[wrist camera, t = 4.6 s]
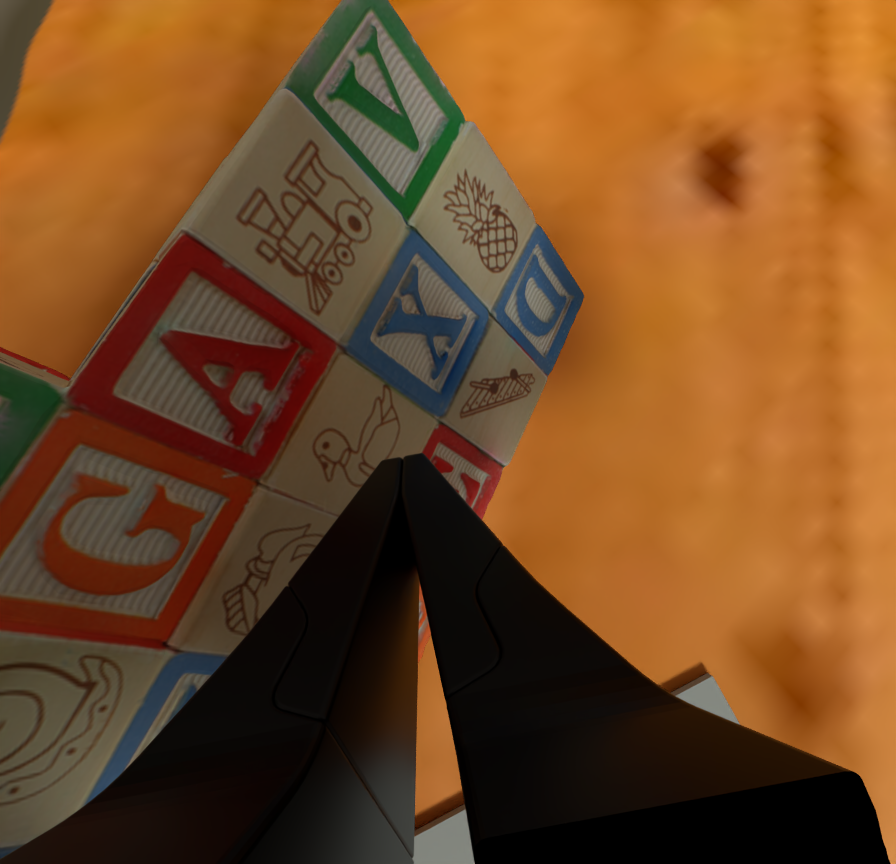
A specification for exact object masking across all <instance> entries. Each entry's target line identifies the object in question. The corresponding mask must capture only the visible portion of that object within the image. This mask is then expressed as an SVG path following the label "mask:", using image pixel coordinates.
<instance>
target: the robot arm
mask: <svg viewBox="0 0 896 864" xmlns="http://www.w3.org/2000/svg"><path fill="white" fill-rule="evenodd" d="M288 585H289V586H285V587H284V588H283V590H282V591H281V592H280V594H279V595H278V596H277V598H276V599H275V600H274V602H273V603H272V604H271V605H270V607H269V608H268V609H267V610H266V612H265V613H264V614H263V615H262V617H261V618H260V619H259V620H258V622H257V623H256V624H255V625H254V627H253V628H252V629H251V630H250V632H249V633H248V634H247V635H246V636H245V637H244V639H243V640H242V641H241V642H240V643H239V644H238V646H237V647H236V648H235V649H234V650H233V651H232V652H231V654H230V655H229V656H228V657H227V658H226V659H225V660H224V662H223V663H222V664H221V665H220V666H219V667H218V668H217V670H216V671H215V672H214V673H213V674H212V675H211V676H210V677H209V678H208V679H207V681H206V682H205V683H204V684H203V685H202V686H201V687H200V688H199V689H198V691H197V692H196V693H195V694H194V695H193V696H192V697H191V698H190V699H189V700H188V702H187V703H186V704H185V705H184V706H183V707H182V708H181V709H180V710H179V712H178V713H177V714H176V715H175V716H174V717H173V718H172V719H171V720H170V721H169V723H168V724H167V725H166V726H165V727H164V728H163V729H162V730H161V731H160V733H159V734H158V735H157V736H156V737H155V738H154V739H153V740H152V741H151V743H150V744H149V745H148V746H147V747H146V748H145V749H144V750H143V751H142V752H141V754H140V755H139V756H138V757H137V758H136V759H135V760H134V761H133V762H132V763H131V764H130V765H129V766H128V767H127V768H126V769H125V770H124V771H123V772H122V773H121V774H120V775H119V776H118V777H117V778H116V779H115V780H114V781H113V782H112V783H111V784H110V785H109V786H107V787H106V788H105V789H104V790H103V791H102V792H101V793H99V794H98V795H97V796H96V797H95V798H93V799H92V800H91V801H90V802H88V803H87V804H86V805H85V806H83V807H82V808H81V809H79V810H78V811H76V812H75V813H73V814H72V815H71V816H69V817H68V818H66V819H65V820H64V821H62V822H60V823H59V824H57V825H56V826H54V827H53V828H51V829H49V830H48V831H46V832H44V833H43V834H41V835H39V836H38V837H36V838H34V839H33V840H31V841H29V842H28V843H26V844H24V845H23V846H21V847H19V848H18V849H16V850H14V851H13V852H11V853H9V854H7V855H6V856H4V857H2V858H1V859H0V864H414V861H413V859H412V858H413V857H414V827H415V779H416V731H417V683H418V634H419V586H421V590H422V595H423V599H424V604H425V609H426V613H427V618H428V623H429V627H430V632H431V636H432V641H433V646H434V650H435V655H436V660H437V664H438V669H439V673H440V678H441V683H442V687H443V692H444V697H445V700H446V704H447V710H448V715H449V720H450V725H451V729H452V735H453V740H454V745H455V750H456V755H457V761H458V767H459V773H460V779H461V785H462V791H463V797H464V803H465V809H466V815H467V822H468V828H469V834H470V840H471V846H472V852H473V858H474V862H475V864H890V861H889V859H888V855H887V851H886V848H885V845H884V843H883V839H882V835H881V831H880V826H879V821H878V818H877V814H876V810H875V808H874V806H873V803H872V801H871V799H870V797H869V794H868V792H867V790H866V787H865V785H864V783H863V781H862V779H861V777H860V776H859V775H858V774H857V773H855V772H853V771H850V770H848V769H845V768H843V767H841V766H838V765H836V764H833V763H831V762H829V761H826V760H824V759H821V758H819V757H817V756H814V755H812V754H809V753H807V752H804V751H802V750H800V749H797V748H795V747H792V746H790V745H788V744H785V743H783V742H780V741H778V740H776V739H773V738H771V737H768V736H766V735H764V734H761V733H759V732H756V731H754V730H752V729H749V728H747V727H744V726H742V725H739V724H737V723H735V722H732V721H730V720H727V719H725V718H723V717H720V716H718V715H715V714H713V713H711V712H708V711H706V710H703V709H701V708H699V707H696V706H694V705H692V704H690V703H688V702H686V701H684V700H682V699H680V698H678V697H676V696H675V695H673V694H671V693H670V692H668V691H666V690H665V689H663V688H662V687H660V686H659V685H657V684H656V683H654V682H653V681H652V680H650V679H649V678H648V677H646V676H645V675H644V674H642V673H641V672H640V671H639V670H638V669H636V668H635V667H634V666H633V665H632V664H630V663H629V662H628V661H627V660H626V659H625V658H624V657H622V656H621V655H620V654H619V653H618V652H617V651H615V650H614V649H613V648H612V647H611V646H610V645H609V644H607V643H606V642H605V641H604V640H603V639H602V638H601V637H599V636H598V635H597V634H596V633H595V632H594V631H592V630H591V629H590V628H589V627H588V626H587V625H586V624H584V623H583V622H582V621H581V620H580V619H579V618H578V617H576V616H575V615H574V614H573V613H572V612H571V611H569V610H568V609H567V608H566V607H565V606H564V605H563V604H561V603H560V602H559V601H558V600H557V599H556V598H555V597H554V596H553V595H552V594H551V593H549V592H548V591H547V590H546V589H545V588H544V587H543V586H542V585H541V584H540V583H539V582H538V581H537V580H536V579H535V578H534V577H533V576H532V575H531V574H530V573H529V572H528V571H527V570H526V569H525V568H524V567H523V566H522V565H521V564H520V562H519V561H518V560H517V559H516V558H515V557H514V556H513V555H512V554H511V552H510V551H509V550H508V549H507V548H506V547H505V546H503V544H502V542H501V541H500V540H499V539H498V538H497V537H496V536H495V534H494V533H493V532H492V531H491V530H490V529H489V528H488V526H487V525H486V524H485V523H484V522H483V521H482V520H481V518H480V517H479V516H478V515H477V514H476V513H475V511H474V510H473V509H472V508H471V507H470V506H469V505H468V503H467V502H466V501H465V500H464V499H463V498H462V497H461V495H460V494H459V493H458V492H457V491H456V490H455V489H454V487H453V486H452V485H451V484H450V483H449V482H448V481H447V479H446V478H445V477H444V476H443V475H442V474H441V473H440V471H439V470H438V469H437V468H436V467H435V466H434V465H433V463H432V462H431V461H430V460H429V459H428V458H427V457H426V455H425V454H423V453H417V454H412V455H407V456H405V457H403V459H402V458H401V457H396V458H390V459H385V460H382V461H381V462H380V463H379V464H378V466H377V467H376V468H375V470H374V471H373V472H372V473H371V475H370V476H369V477H368V479H367V480H366V481H365V483H364V484H363V485H362V487H361V488H360V489H359V490H358V492H357V493H356V494H355V496H354V497H353V498H352V500H351V501H350V502H349V504H348V505H347V506H346V507H345V509H344V510H343V511H342V513H341V514H340V515H339V517H338V518H337V519H336V521H335V522H334V523H333V525H332V526H331V527H330V528H329V530H328V531H327V532H326V534H325V535H324V536H323V538H322V539H321V540H320V542H319V543H318V544H317V545H316V547H315V548H314V549H313V551H312V552H311V553H310V555H309V556H308V557H307V559H306V560H305V561H304V563H303V564H302V565H301V566H300V568H299V569H298V570H297V572H296V573H295V574H294V576H293V577H292V578H291V580H290V581H289V582H288Z"/></svg>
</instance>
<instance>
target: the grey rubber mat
mask: <svg viewBox="0 0 896 864" xmlns="http://www.w3.org/2000/svg"><path fill="white" fill-rule="evenodd" d="M671 694H673V695H675V696H676V697H678V698H680V699H682V700H684V701H686V702H688V703H690V704H692V705H694V706H696V707H699V708H701V709H703V710H706V711H708V712H711V713H713V714H715V715H718V716H720V717H723V718H725V719H727V720H730V721H732V722H735V723H737V724H739V722H738V720H737V718H736V717H735V715H734V713H733V711H732V710H731V708H730V706H729V704H728V703H727V701H726V699H725V697H724V695H723V694H722V692H721V690H720V688H719V687H718V685H717V683H716V681H715V679H714V678H713V676H712V675H710V674H708V673H707V674H705V675H703V676H701V677H699V678H697V679H695V680H694V681H692V682H690V683H688V684H686V685H684V686H682V687H681V688H679V689H677V690H675V691H673V692H671ZM739 725H740V724H739ZM412 859H413V861H414V864H475V862H474V858H473V852H472V846H471V840H470V834H469V828H468V822H467V815H466V809H465V804H463V805H461V806H460V807H458V808H456V809H454V810H452V811H450V812H448V813H447V814H445V815H443V816H441V817H439V818H437V819H435V820H434V821H432V822H430V823H428V824H426V825H424V826H422V827H421V828H419V829H417V830H415V831H414V857H413V858H412Z"/></svg>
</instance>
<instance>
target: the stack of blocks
mask: <svg viewBox="0 0 896 864" xmlns="http://www.w3.org/2000/svg"><path fill="white" fill-rule="evenodd" d="M583 298H584V295H583V293H582V291H581V289H580V288H579V286H578V285H577V283H576V282H575V280H574V278H573V277H572V275H571V274H570V272H569V271H568V269H567V268H566V266H565V264H564V262H563V261H562V259H561V258H560V256H559V255H558V253H557V252H556V250H555V249H554V247H553V245H552V244H551V242H550V240H549V239H548V237H547V235H546V234H545V232H544V231H543V229H542V228H541V226H539V225H538V224H536V223H535V218H534V215H533V212H532V211H531V209H530V208H529V206H528V204H527V203H526V201H525V200H524V198H523V197H522V195H521V194H520V192H519V190H518V189H517V187H516V186H515V184H514V182H513V181H512V179H511V178H510V176H509V174H508V173H507V171H506V170H505V168H504V167H503V165H502V164H501V162H500V161H499V159H498V158H497V156H496V155H495V153H494V152H493V150H492V149H491V147H490V145H489V144H488V142H487V141H486V139H485V138H484V136H483V135H482V133H481V132H480V131H479V129H478V128H477V126H476V125H475V124H474V122H470V121H469V122H468V121H465V118H464V115H463V113H462V112H461V110H460V108H459V107H458V105H457V104H456V103H455V101H454V99H453V98H452V96H451V94H450V93H449V91H448V90H447V88H446V86H445V85H444V83H443V82H442V80H441V79H440V78H439V76H438V75H437V73H436V72H435V70H434V69H433V68H432V66H431V65H430V63H429V62H428V60H427V59H426V57H425V56H424V54H423V52H422V51H421V49H420V48H419V46H418V45H417V43H416V42H415V40H414V39H413V37H412V35H411V34H410V32H409V31H408V29H407V28H406V26H405V25H404V23H403V22H402V20H401V19H400V17H399V16H398V14H397V13H396V12H395V10H394V9H393V7H392V6H391V4H390V3H389V1H388V0H342V1H341V2H340V3H339V5H338V6H337V7H336V9H335V10H334V11H333V13H332V14H331V15H330V17H329V18H328V19H327V21H326V22H325V23H324V25H323V26H322V28H321V29H320V30H319V32H318V33H317V34H316V36H315V37H314V38H313V40H312V41H311V42H310V44H309V45H308V46H307V48H306V49H305V50H304V52H303V53H302V54H301V56H300V57H299V58H298V60H297V61H296V62H295V64H294V65H293V67H292V68H291V69H290V71H289V72H288V74H287V75H286V76H285V78H284V79H283V80H282V82H281V83H280V85H279V86H278V88H277V89H276V90H275V92H274V93H273V95H272V96H271V98H270V99H269V101H268V102H267V103H266V105H265V106H264V108H263V109H262V111H261V112H260V114H259V115H258V116H257V118H256V119H255V121H254V122H253V123H252V125H251V126H250V127H249V129H248V130H247V131H246V132H245V134H244V135H243V136H242V138H241V139H240V140H239V142H238V143H237V144H236V146H235V147H234V148H233V150H232V151H231V152H230V154H229V155H228V156H227V157H226V158H225V159H224V160H223V161H222V163H221V164H220V166H219V167H218V168H217V170H216V171H215V173H214V174H213V175H212V177H211V178H210V180H209V181H208V182H207V184H206V185H205V187H204V188H203V189H202V191H201V192H200V194H199V195H198V196H197V198H196V199H195V201H194V202H193V203H192V205H191V206H190V208H189V209H188V210H187V212H186V213H185V215H184V216H183V217H182V219H181V220H180V222H179V223H178V225H177V226H176V227H175V229H174V230H173V232H172V233H171V235H170V236H169V237H168V239H167V240H166V242H165V243H164V244H163V246H162V247H161V249H160V250H159V252H158V253H157V254H156V256H155V258H154V259H153V261H152V262H151V264H150V265H149V267H148V268H147V270H146V271H145V272H144V274H143V275H142V277H141V278H140V279H139V281H138V282H137V284H136V285H135V287H134V288H133V289H132V291H131V292H130V294H129V295H128V297H127V298H126V300H125V301H124V302H123V304H122V305H121V307H120V308H119V310H118V311H117V313H116V314H115V315H114V317H113V318H112V320H111V321H110V323H109V324H108V326H107V327H106V328H105V330H104V331H103V333H102V334H101V336H100V337H99V339H98V340H97V341H96V343H95V344H94V346H93V347H92V349H91V350H90V352H89V353H88V354H87V356H86V357H85V359H84V360H83V362H82V363H81V364H80V366H79V367H78V369H77V370H76V372H75V373H74V375H73V376H72V377H71V379H69V378H68V377H67V376H65V375H63V374H62V373H60V372H58V371H56V370H53V369H51V368H48V367H46V366H44V365H41V364H39V363H37V362H34V361H32V360H29V359H27V358H25V357H22V356H20V355H18V354H15V353H12V352H10V351H8V350H5V349H3V348H1V347H0V859H1V858H2V857H4V856H6V855H7V854H9V853H11V852H13V851H14V850H16V849H18V848H19V847H21V846H23V845H24V844H26V843H28V842H29V841H31V840H33V839H34V838H36V837H38V836H39V835H41V834H43V833H44V832H46V831H48V830H49V829H51V828H53V827H54V826H56V825H57V824H59V823H60V822H62V821H64V820H65V819H66V818H68V817H69V816H71V815H72V814H73V813H75V812H76V811H78V810H79V809H81V808H82V807H83V806H85V805H86V804H87V803H88V802H90V801H91V800H92V799H93V798H95V797H96V796H97V795H98V794H99V793H101V792H102V791H103V790H104V789H105V788H106V787H107V786H109V785H110V784H111V783H112V782H113V781H114V780H115V779H116V778H117V777H118V776H119V775H120V774H121V773H122V772H123V771H124V770H125V769H126V768H127V767H128V766H129V765H130V764H131V763H132V762H133V761H134V760H135V759H136V758H137V757H138V756H139V755H140V754H141V752H142V751H143V750H144V749H145V748H146V747H147V746H148V745H149V744H150V743H151V741H152V740H153V739H154V738H155V737H156V736H157V735H158V734H159V733H160V731H161V730H162V729H163V728H164V727H165V726H166V725H167V724H168V723H169V721H170V720H171V719H172V718H173V717H174V716H175V715H176V714H177V713H178V712H179V710H180V709H181V708H182V707H183V706H184V705H185V704H186V703H187V702H188V700H189V699H190V698H191V697H192V696H193V695H194V694H195V693H196V692H197V691H198V689H199V688H200V687H201V686H202V685H203V684H204V683H205V682H206V681H207V679H208V678H209V677H210V676H211V675H212V674H213V673H214V672H215V671H216V670H217V668H218V667H219V666H220V665H221V664H222V663H223V662H224V660H225V659H226V658H227V657H228V656H229V655H230V654H231V652H232V651H233V650H234V649H235V648H236V647H237V646H238V644H239V643H240V642H241V641H242V640H243V639H244V637H245V636H246V635H247V634H248V633H249V632H250V630H251V629H252V628H253V627H254V625H255V624H256V623H257V622H258V620H259V619H260V618H261V617H262V615H263V614H264V613H265V612H266V610H267V609H268V608H269V607H270V605H271V604H272V603H273V602H274V600H275V599H276V598H277V596H278V595H279V594H280V592H281V591H282V590H283V588H284V587H285V586H289V585H288V582H289V581H290V580H291V578H292V577H293V576H294V574H295V573H296V572H297V570H298V569H299V568H300V566H301V565H302V564H303V563H304V561H305V560H306V559H307V557H308V556H309V555H310V553H311V552H312V551H313V549H314V548H315V547H316V545H317V544H318V543H319V542H320V540H321V539H322V538H323V536H324V535H325V534H326V532H327V531H328V530H329V528H330V527H331V526H332V525H333V523H334V522H335V521H336V519H337V518H338V517H339V515H340V514H341V513H342V511H343V510H344V509H345V507H346V506H347V505H348V504H349V502H350V501H351V500H352V498H353V497H354V496H355V494H356V493H357V492H358V490H359V489H360V488H361V487H362V485H363V484H364V483H365V481H366V480H367V479H368V477H369V476H370V475H371V473H372V472H373V471H374V470H375V468H376V467H377V466H378V464H379V463H380V462H381V461H382V460H385V459H390V458H396V457H401V458H402V459H403V457H405V456H407V455H412V454H417V453H423V454H425V455H426V457H427V458H428V459H429V460H430V461H431V462H432V463H433V465H434V466H435V467H436V468H437V469H438V470H439V471H440V473H441V474H442V475H443V476H444V477H445V478H446V479H447V481H448V482H449V483H450V484H451V485H452V486H453V487H454V489H455V490H456V491H457V492H458V493H459V494H460V495H461V497H462V498H463V499H464V500H465V501H466V502H467V503H468V505H469V506H470V507H471V508H472V509H473V510H474V511H475V513H476V514H477V515H478V516H479V517H480V518H481V520H482V518H483V516H484V514H485V511H486V508H487V506H488V504H489V502H490V500H491V498H492V496H493V494H494V491H495V489H496V487H497V485H498V482H499V480H500V478H501V474H502V470H503V468H504V467H505V466H507V465H508V464H509V463H510V461H511V459H512V457H513V455H514V452H515V450H516V448H517V446H518V444H519V441H520V439H521V437H522V435H523V432H524V430H525V428H526V426H527V424H528V421H529V419H530V417H531V415H532V413H533V410H534V408H535V406H536V404H537V402H538V400H539V397H540V395H541V393H542V391H543V389H544V386H545V384H546V382H547V377H548V375H549V373H550V372H551V371H552V369H553V367H554V364H555V362H556V360H557V358H558V355H559V353H560V351H561V349H562V347H563V345H564V343H565V340H566V338H567V335H568V333H569V330H570V328H571V326H572V324H573V322H574V320H575V317H576V314H577V312H578V311H579V309H580V307H581V304H582V301H583ZM430 635H431V632H430V627H429V623H428V618H427V613H426V609H425V604H424V599H423V595H422V590H421V586H419V634H418V662H419V661H420V659H421V658H422V656H423V652H424V649H425V646H426V644H427V642H428V640H429V637H430Z"/></svg>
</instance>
